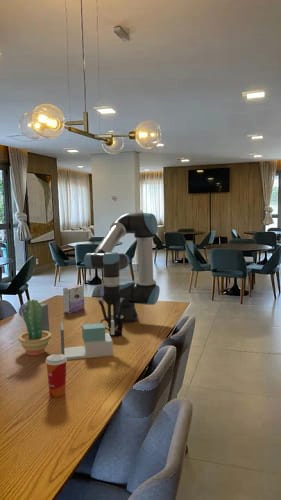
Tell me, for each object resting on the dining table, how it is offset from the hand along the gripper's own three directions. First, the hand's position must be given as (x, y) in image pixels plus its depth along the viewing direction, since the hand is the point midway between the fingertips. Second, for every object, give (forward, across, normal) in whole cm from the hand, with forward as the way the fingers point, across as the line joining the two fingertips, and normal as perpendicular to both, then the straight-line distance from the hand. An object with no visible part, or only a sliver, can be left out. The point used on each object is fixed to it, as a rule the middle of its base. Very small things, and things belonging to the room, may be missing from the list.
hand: (112, 333), depth 181 cm
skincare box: (+8, -34, +35) cm, 50 cm away
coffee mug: (+8, +4, +22) cm, 24 cm away
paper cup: (+9, -27, -37) cm, 46 cm away
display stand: (+8, -13, 0) cm, 15 cm away
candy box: (+8, -12, +76) cm, 78 cm away
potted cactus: (+8, -36, +8) cm, 38 cm away
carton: (+2, -9, 0) cm, 9 cm away
